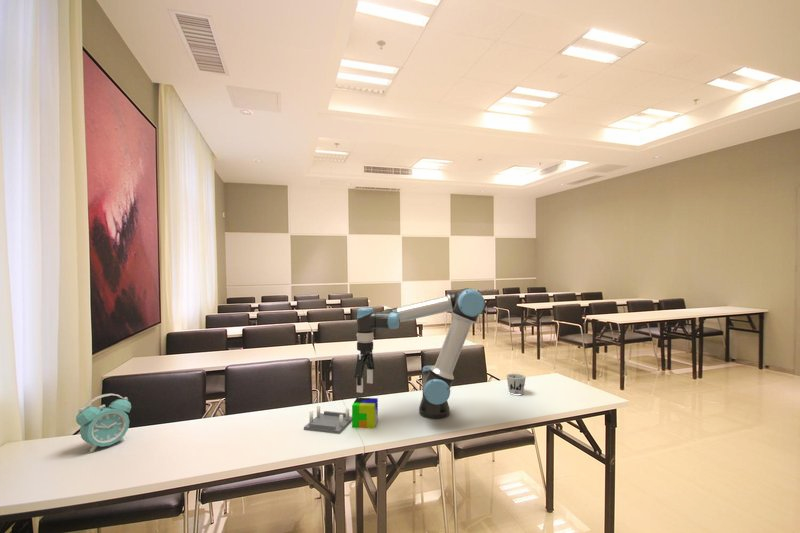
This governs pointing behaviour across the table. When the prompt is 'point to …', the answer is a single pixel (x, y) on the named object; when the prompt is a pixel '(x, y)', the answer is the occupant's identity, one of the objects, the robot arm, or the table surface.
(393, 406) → the table surface
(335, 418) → the tray
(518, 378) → the mug
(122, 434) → the alarm clock
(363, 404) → the puzzle toy
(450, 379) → the robot arm
